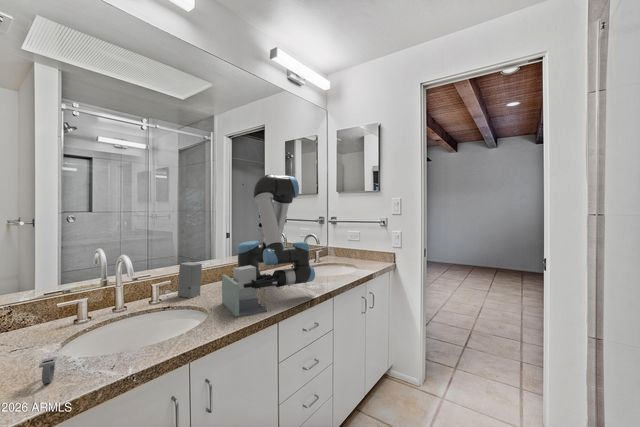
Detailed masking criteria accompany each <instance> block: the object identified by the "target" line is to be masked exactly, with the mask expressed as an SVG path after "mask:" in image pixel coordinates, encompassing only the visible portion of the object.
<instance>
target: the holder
mask: <svg viewBox="0 0 640 427" xmlns="http://www.w3.org/2000/svg"><path fill="white" fill-rule="evenodd" d="M221 304H222V306H224V308H225V309H226V310H227V311H228V312H229V313H230V314H231V315H232V316H233V317H234V319H238V318H242V317H246V316H251V315H257V314H261V313H262V314H263V313H266V312H268V308H266V307H265V306H263V305H262V304H261V303H260V302H259V298H258V297H257V298H255V299H250V300H244V301H239V284H238V283H237V282H236V281H234V280H233V278H231V277H230V276H228V275H227V274H222V275H221Z"/></svg>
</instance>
